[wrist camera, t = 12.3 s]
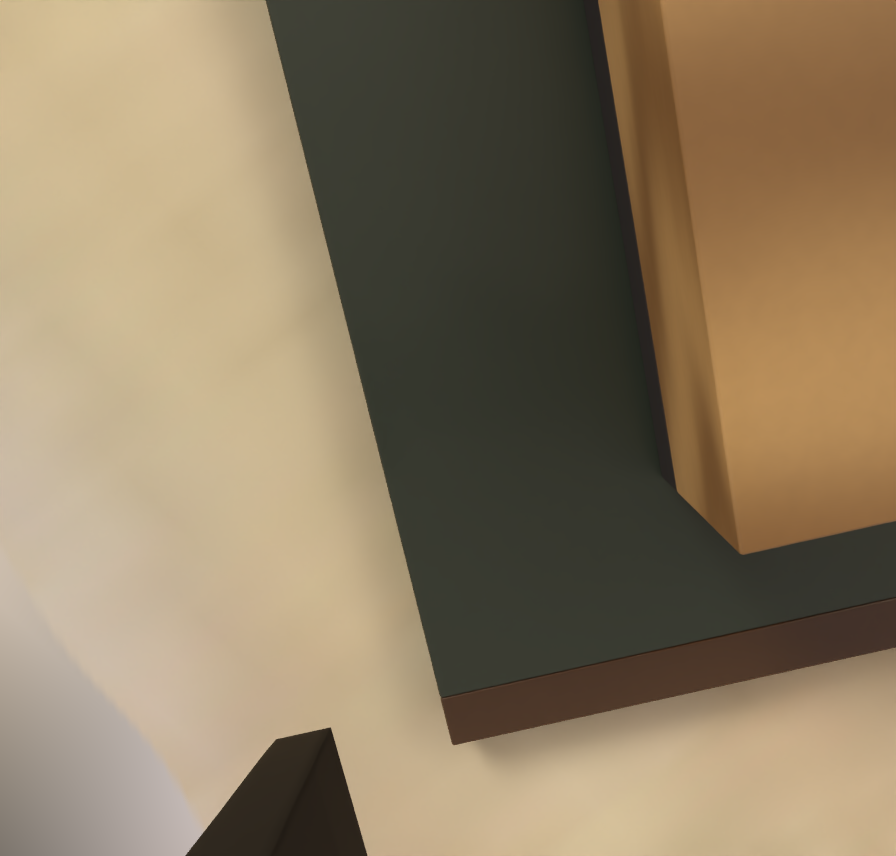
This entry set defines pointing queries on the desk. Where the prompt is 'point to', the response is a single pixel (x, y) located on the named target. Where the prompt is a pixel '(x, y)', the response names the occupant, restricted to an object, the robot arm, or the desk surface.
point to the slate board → (530, 378)
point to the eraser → (760, 251)
